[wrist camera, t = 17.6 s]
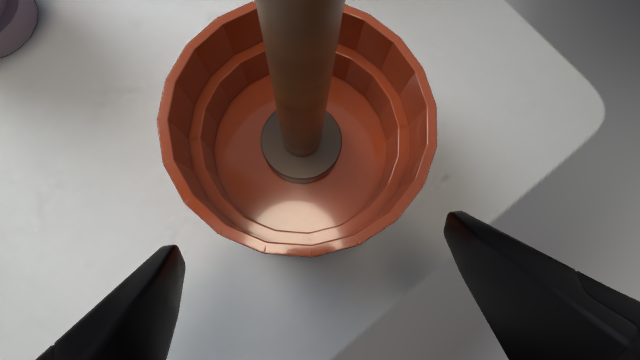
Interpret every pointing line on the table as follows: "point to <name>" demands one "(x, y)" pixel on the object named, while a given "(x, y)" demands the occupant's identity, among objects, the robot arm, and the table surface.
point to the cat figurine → (16, 24)
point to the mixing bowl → (259, 104)
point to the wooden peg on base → (300, 86)
